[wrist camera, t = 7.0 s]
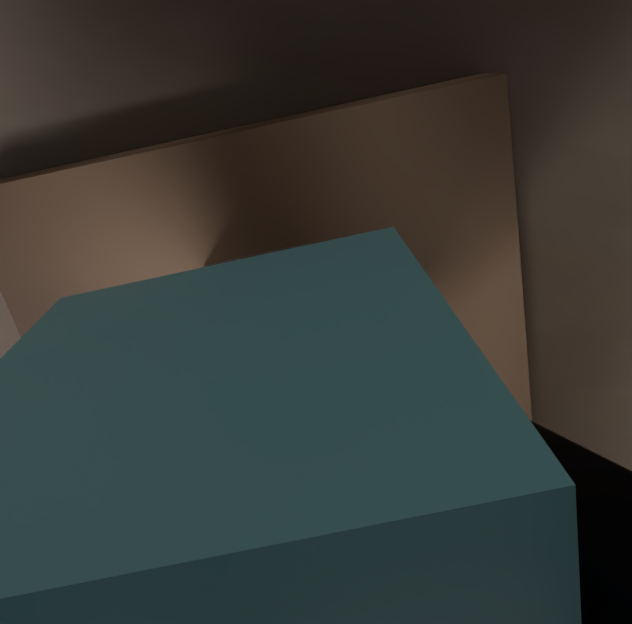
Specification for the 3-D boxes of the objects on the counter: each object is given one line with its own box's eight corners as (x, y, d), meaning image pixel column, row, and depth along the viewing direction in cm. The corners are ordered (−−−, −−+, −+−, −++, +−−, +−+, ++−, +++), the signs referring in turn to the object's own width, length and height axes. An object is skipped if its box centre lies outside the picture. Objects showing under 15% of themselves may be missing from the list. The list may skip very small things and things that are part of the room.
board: (190, 661, 21) (183, 704, 19) (-10, 181, 14) (-42, 193, 13) (529, 596, 20) (547, 634, 19) (484, 72, 14) (506, 73, 12)
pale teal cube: (162, 551, 11) (38, 1038, 5) (60, 297, 9) (-294, 657, 4) (436, 496, 11) (595, 941, 5) (393, 226, 9) (573, 484, 3)
